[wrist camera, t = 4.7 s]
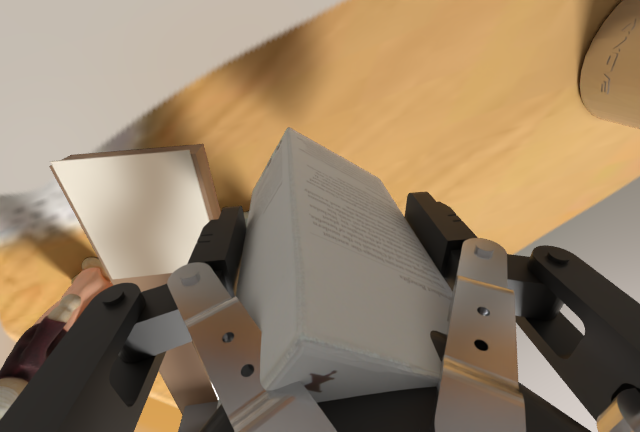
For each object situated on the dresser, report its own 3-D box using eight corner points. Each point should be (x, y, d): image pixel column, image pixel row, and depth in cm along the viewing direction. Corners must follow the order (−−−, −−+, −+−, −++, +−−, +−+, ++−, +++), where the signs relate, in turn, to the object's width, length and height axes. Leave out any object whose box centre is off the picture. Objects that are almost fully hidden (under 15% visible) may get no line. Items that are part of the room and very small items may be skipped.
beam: (222, 131, 15) (197, 167, 11) (278, 389, 27) (277, 460, 22) (71, 143, 15) (-23, 186, 10) (194, 401, 26) (176, 475, 22)
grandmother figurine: (112, 308, 27) (0, 488, 16) (63, 295, 26) (-93, 482, 15) (136, 249, 24) (21, 421, 13) (83, 230, 23) (-93, 406, 12)
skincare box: (250, 192, 16) (197, 457, 6) (287, 123, 15) (298, 335, 4) (341, 233, 18) (413, 480, 8) (383, 178, 17) (538, 405, 7)
